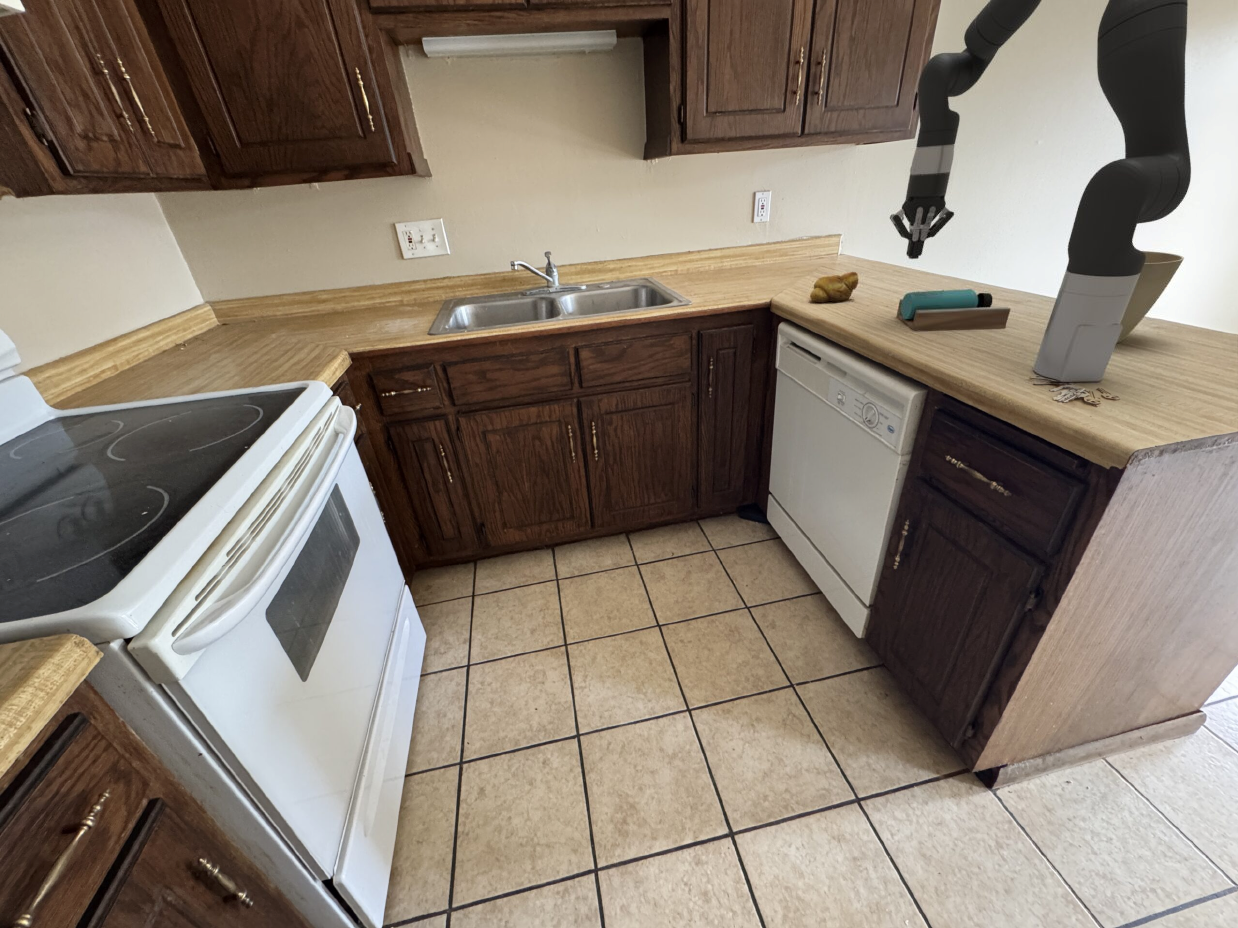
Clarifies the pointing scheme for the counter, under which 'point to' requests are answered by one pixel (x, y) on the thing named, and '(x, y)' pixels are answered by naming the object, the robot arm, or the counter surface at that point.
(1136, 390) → the counter surface
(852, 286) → the bread roll
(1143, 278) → the plant pot
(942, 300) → the beverage bottle
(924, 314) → the walnut cradle
